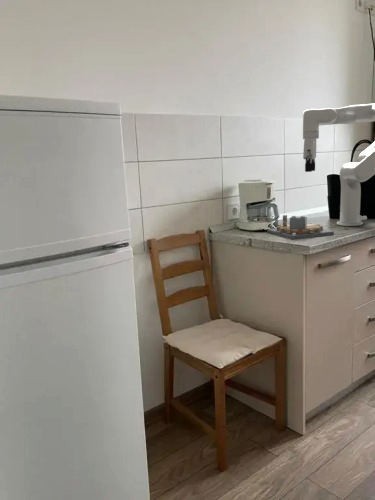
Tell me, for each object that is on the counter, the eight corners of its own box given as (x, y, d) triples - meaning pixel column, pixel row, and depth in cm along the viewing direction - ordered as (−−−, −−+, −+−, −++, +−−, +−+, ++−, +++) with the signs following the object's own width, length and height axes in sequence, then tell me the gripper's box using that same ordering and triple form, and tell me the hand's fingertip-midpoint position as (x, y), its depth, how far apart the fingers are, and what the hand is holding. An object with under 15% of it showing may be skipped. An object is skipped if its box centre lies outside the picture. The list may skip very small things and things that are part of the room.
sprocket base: (305, 228, 218) (305, 223, 217) (333, 234, 198) (333, 229, 197) (267, 232, 211) (267, 227, 210) (292, 239, 190) (292, 234, 190)
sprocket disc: (272, 227, 213) (272, 214, 212) (313, 225, 214) (314, 212, 213) (283, 234, 193) (283, 219, 192) (329, 232, 194) (329, 217, 193)
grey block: (291, 227, 202) (291, 215, 200) (306, 227, 199) (307, 215, 198) (289, 228, 198) (289, 216, 197) (305, 229, 195) (305, 216, 194)
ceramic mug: (256, 230, 218) (256, 215, 216) (265, 227, 223) (265, 213, 222) (274, 232, 210) (275, 216, 209) (283, 229, 216) (283, 214, 215)
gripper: (306, 136, 219) (305, 170, 223) (299, 135, 204) (299, 172, 208) (321, 135, 216) (320, 170, 220) (315, 134, 201) (315, 171, 205)
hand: (310, 171), depth 214 cm, fingers open, 9 cm apart
